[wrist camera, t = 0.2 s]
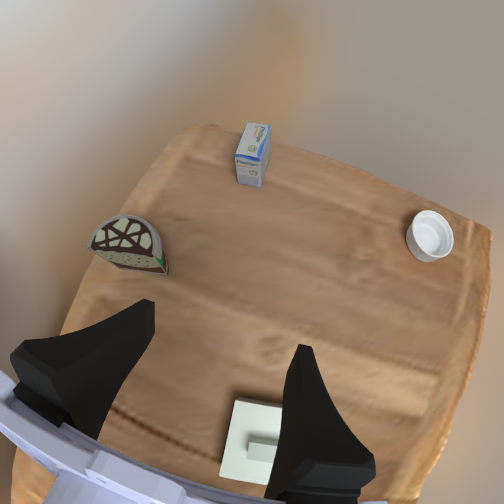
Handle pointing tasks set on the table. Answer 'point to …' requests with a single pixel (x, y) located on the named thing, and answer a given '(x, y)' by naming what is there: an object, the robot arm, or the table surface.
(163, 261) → the food container
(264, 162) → the medicine box
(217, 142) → the table surface
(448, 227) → the ramekin
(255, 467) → the lid
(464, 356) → the table surface
